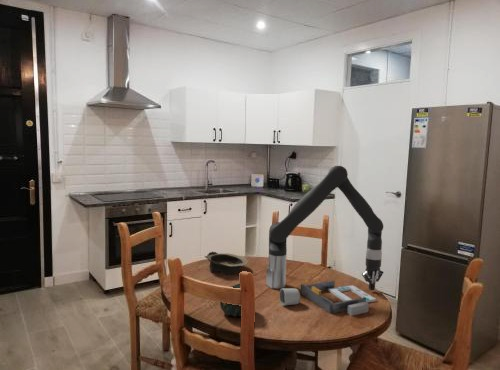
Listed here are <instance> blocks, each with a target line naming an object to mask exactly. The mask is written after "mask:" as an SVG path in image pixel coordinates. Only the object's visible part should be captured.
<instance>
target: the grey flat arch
mask: <svg viewBox="0 0 500 370" xmlns="http://www.w3.org/2000/svg"><path fill="white" fill-rule="evenodd" d="M327 291H328V292H329V293H331V294H332V295H334V296H335V297H336V298H337V299H339V300H341V301H342V302H343V301H347V300H352V298H351V297H349V296H347V295H346V294H344V293H343V292H349V291H350V292H352V293H354V294H355V295H357V296H358V297H359V298H362V297H365V298H366V302H367V303H368V304H369V303H373V302H376V301H377V298H376V297H374V296H372V295H371V294H369V293H367V292H365V291H363V290H362V289H360V288H358V287H357V286H355V285H344V286H338V287H334V288H330V289H328V290H327Z"/></svg>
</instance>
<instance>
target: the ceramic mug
mask: <svg viewBox="0 0 500 370" xmlns="http://www.w3.org/2000/svg"><path fill="white" fill-rule="evenodd" d="M278 296H279V303H280V305H281V306H282V307H283V306H294V305H295V306H296V305H299V304H300V303H301V291H300V290H299V289H298V288H292V287H290V288H285V287H284V288H280V290H279V295H278Z"/></svg>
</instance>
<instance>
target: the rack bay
mask: <svg viewBox="0 0 500 370" xmlns="http://www.w3.org/2000/svg"><path fill="white" fill-rule="evenodd" d="M335 283H336V282H335V280H333V279H332V280H329V281H328V280H327V281H321V282H316V283H309V284H304V283H301V284H300V295H302V296H304V297H305V298H306V299H308V300H309V301H312V302H313V303H314V304H316V305H318V306H319V307H320V308H322V309H323V310H325V311H326V312H328V313H330V314H336V313H341V312H347V311H348V305H352V304H357V303H361V302H366V298H365V297H357V298H354V299H352V298H351V299H352V300H347V301H343V300H342V301H337V302H333V301H332V300H330V299H328V298H327V297H325V296H324V295H322V291H328V289H330V288H335Z"/></svg>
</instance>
